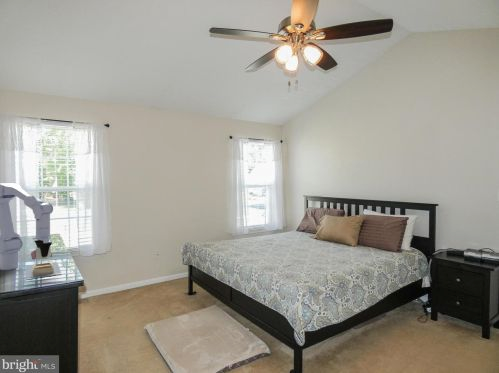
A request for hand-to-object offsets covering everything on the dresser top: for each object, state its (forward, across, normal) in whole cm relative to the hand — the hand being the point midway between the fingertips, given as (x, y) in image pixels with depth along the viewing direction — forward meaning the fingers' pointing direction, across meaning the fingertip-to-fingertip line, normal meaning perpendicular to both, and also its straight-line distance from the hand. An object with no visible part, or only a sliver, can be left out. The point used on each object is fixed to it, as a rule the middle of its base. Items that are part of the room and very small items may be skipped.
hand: (43, 255), depth 146 cm
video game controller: (+9, -34, +5) cm, 36 cm away
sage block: (+1, 0, 0) cm, 1 cm away
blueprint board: (+9, -5, +1) cm, 10 cm away
